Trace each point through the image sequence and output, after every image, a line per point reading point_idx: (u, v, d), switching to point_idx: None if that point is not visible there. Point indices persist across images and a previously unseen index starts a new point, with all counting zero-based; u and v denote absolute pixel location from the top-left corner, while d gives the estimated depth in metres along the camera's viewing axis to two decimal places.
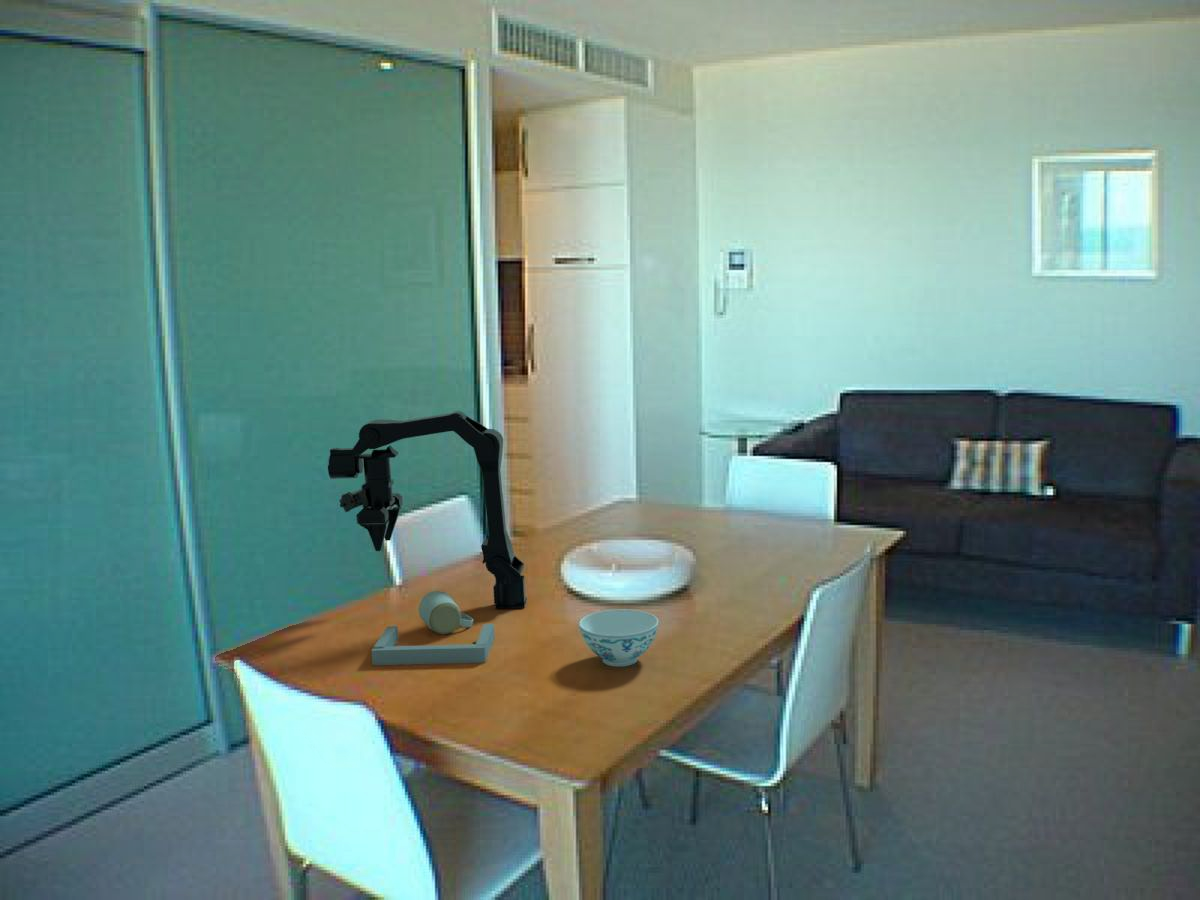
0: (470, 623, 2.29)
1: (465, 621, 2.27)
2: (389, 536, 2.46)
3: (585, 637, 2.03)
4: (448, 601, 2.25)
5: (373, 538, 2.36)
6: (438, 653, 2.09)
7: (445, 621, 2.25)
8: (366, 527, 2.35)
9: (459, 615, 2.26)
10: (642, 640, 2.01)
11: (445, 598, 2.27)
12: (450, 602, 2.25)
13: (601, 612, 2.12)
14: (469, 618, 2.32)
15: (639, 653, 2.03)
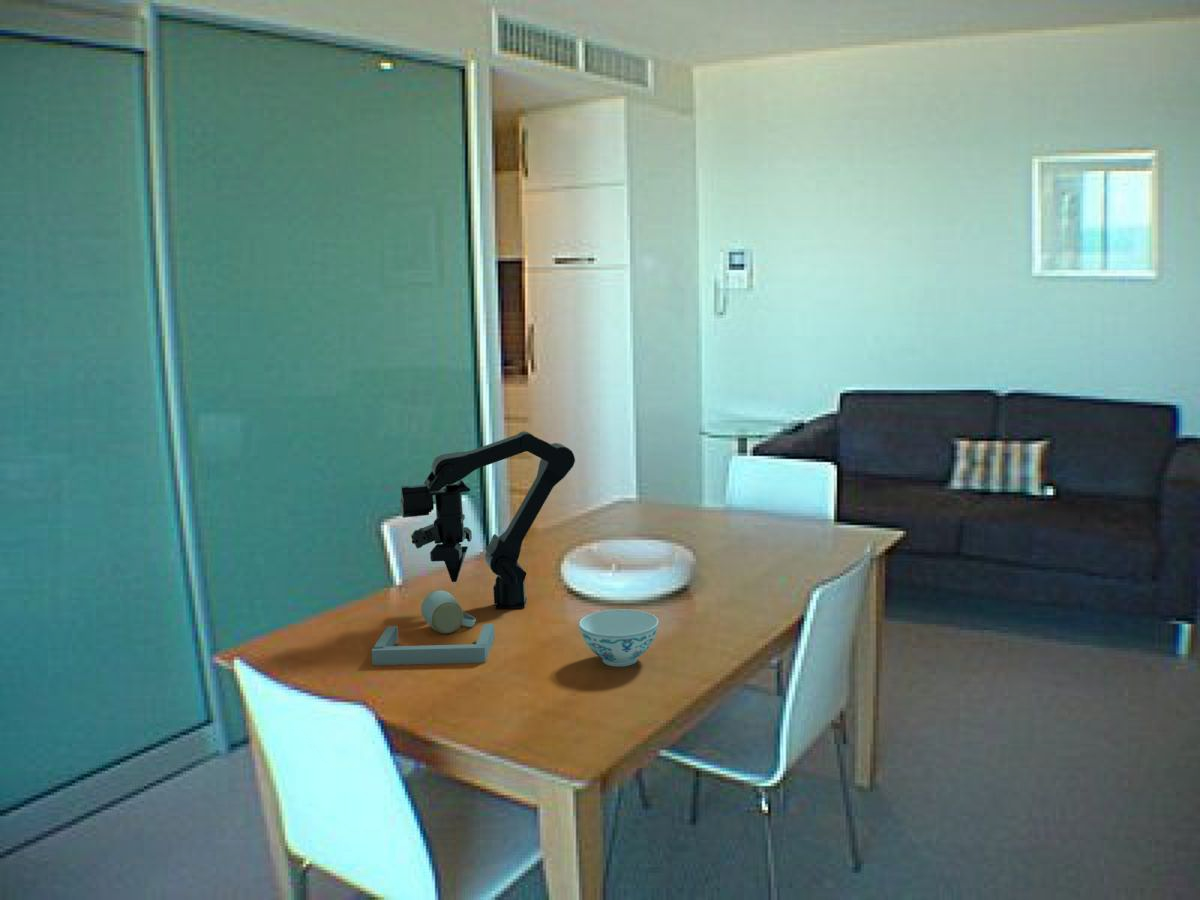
0: (472, 623, 2.29)
1: (467, 621, 2.28)
2: None
3: (585, 637, 2.03)
4: (450, 601, 2.26)
5: (449, 569, 2.37)
6: (438, 653, 2.09)
7: (447, 620, 2.25)
8: None
9: (461, 615, 2.26)
10: (642, 640, 2.01)
11: (447, 598, 2.27)
12: (452, 602, 2.25)
13: (601, 612, 2.12)
14: (471, 618, 2.32)
15: (639, 653, 2.03)
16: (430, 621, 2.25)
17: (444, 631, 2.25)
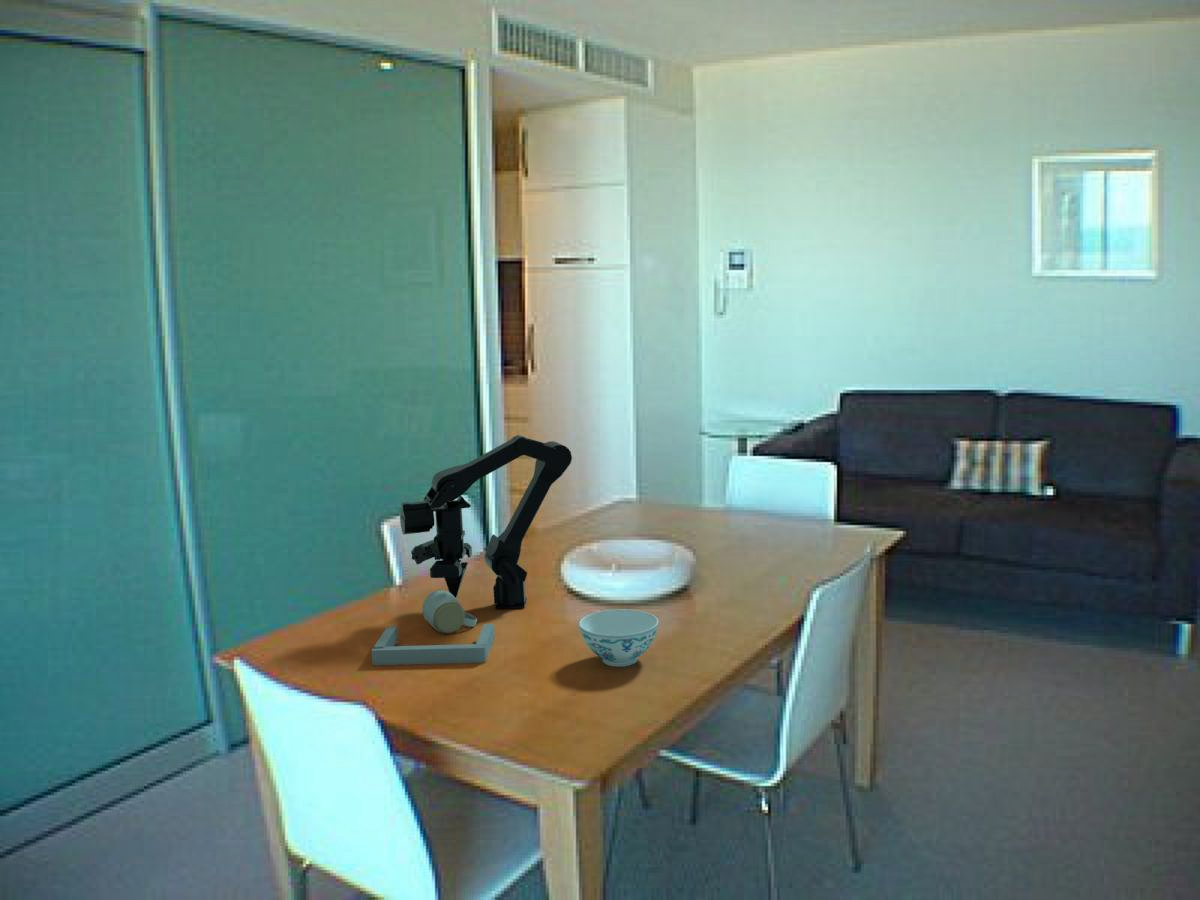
0: (474, 622, 2.29)
1: (469, 620, 2.28)
2: None
3: (585, 637, 2.03)
4: (452, 600, 2.26)
5: (449, 585, 2.37)
6: (438, 653, 2.09)
7: (448, 620, 2.25)
8: None
9: (463, 614, 2.26)
10: (642, 640, 2.01)
11: (449, 597, 2.27)
12: (454, 601, 2.26)
13: (601, 612, 2.12)
14: (473, 617, 2.32)
15: (639, 653, 2.03)
16: (431, 621, 2.25)
17: (445, 631, 2.25)
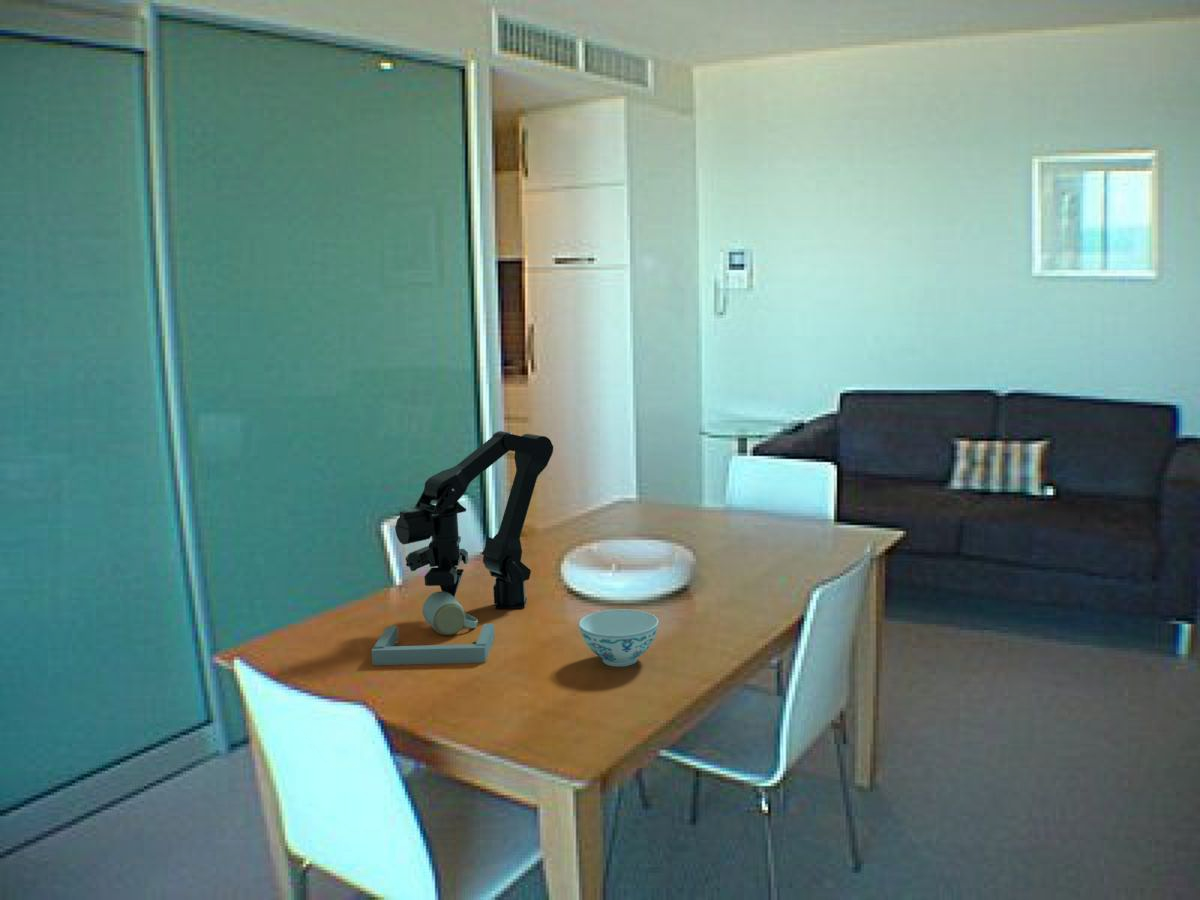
0: (474, 624, 2.28)
1: (469, 622, 2.26)
2: None
3: (585, 637, 2.03)
4: (452, 602, 2.24)
5: None
6: (438, 653, 2.09)
7: (449, 621, 2.24)
8: None
9: (463, 616, 2.25)
10: (642, 640, 2.01)
11: (449, 599, 2.26)
12: (454, 603, 2.24)
13: (601, 612, 2.12)
14: (473, 619, 2.31)
15: (639, 653, 2.03)
16: (432, 622, 2.23)
17: (446, 632, 2.24)
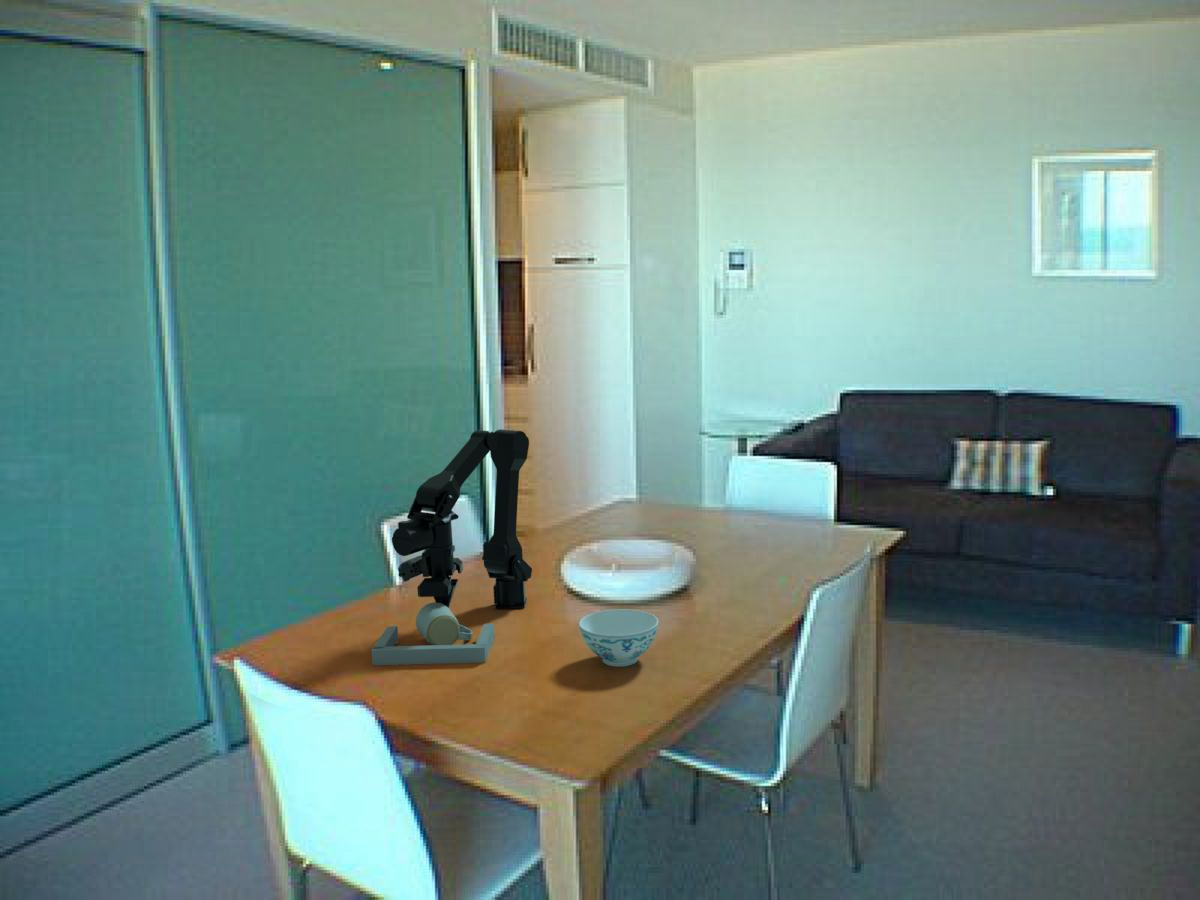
0: (469, 636, 2.20)
1: (464, 634, 2.19)
2: None
3: (585, 637, 2.03)
4: (446, 613, 2.17)
5: None
6: (438, 653, 2.09)
7: (443, 634, 2.16)
8: None
9: (458, 628, 2.17)
10: (642, 640, 2.01)
11: (443, 610, 2.18)
12: (448, 614, 2.17)
13: (601, 612, 2.12)
14: (468, 631, 2.23)
15: (639, 653, 2.03)
16: (425, 635, 2.16)
17: None
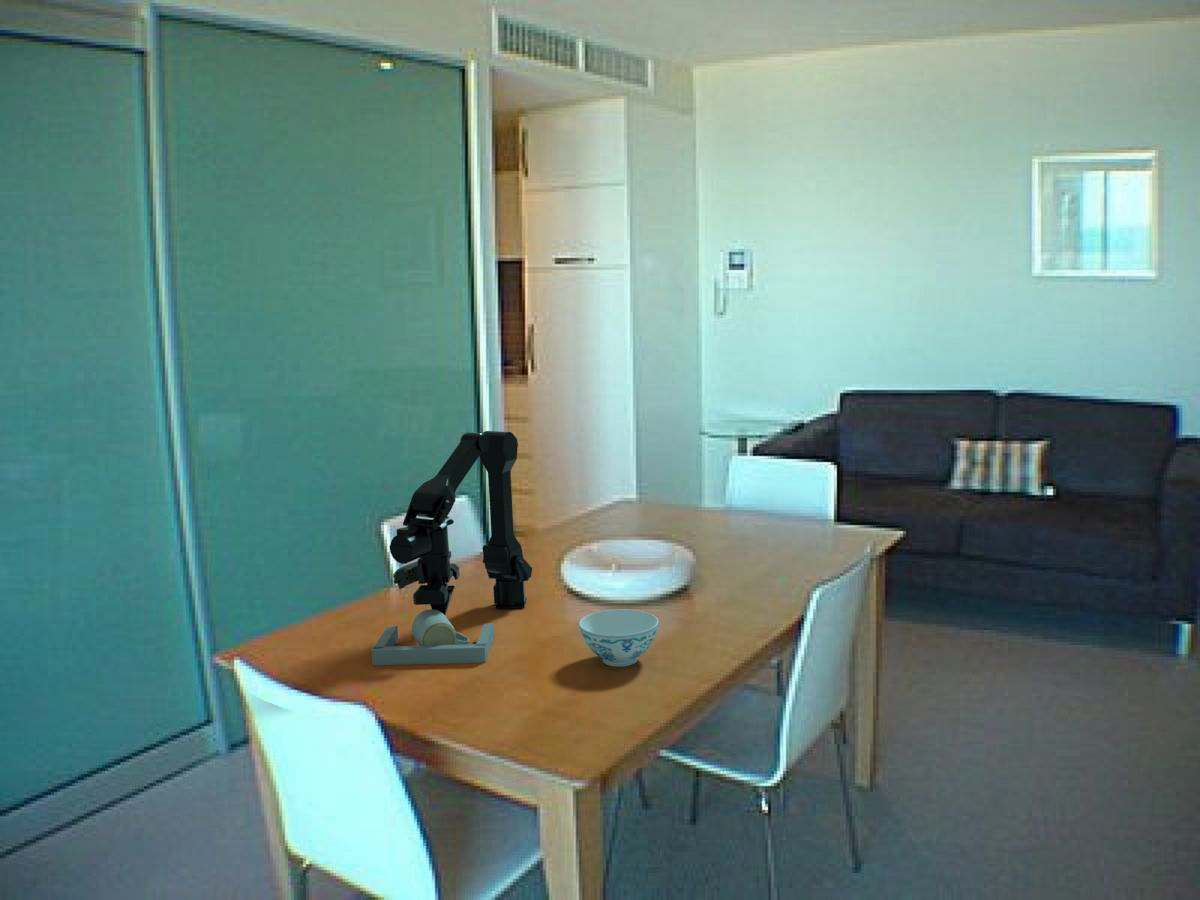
0: (466, 644, 2.16)
1: (460, 642, 2.15)
2: None
3: (585, 637, 2.03)
4: (442, 621, 2.13)
5: None
6: (438, 653, 2.09)
7: (439, 642, 2.12)
8: None
9: (454, 636, 2.13)
10: (642, 640, 2.01)
11: (439, 617, 2.14)
12: (444, 622, 2.12)
13: (601, 612, 2.12)
14: (465, 638, 2.19)
15: (639, 653, 2.03)
16: (421, 642, 2.12)
17: None
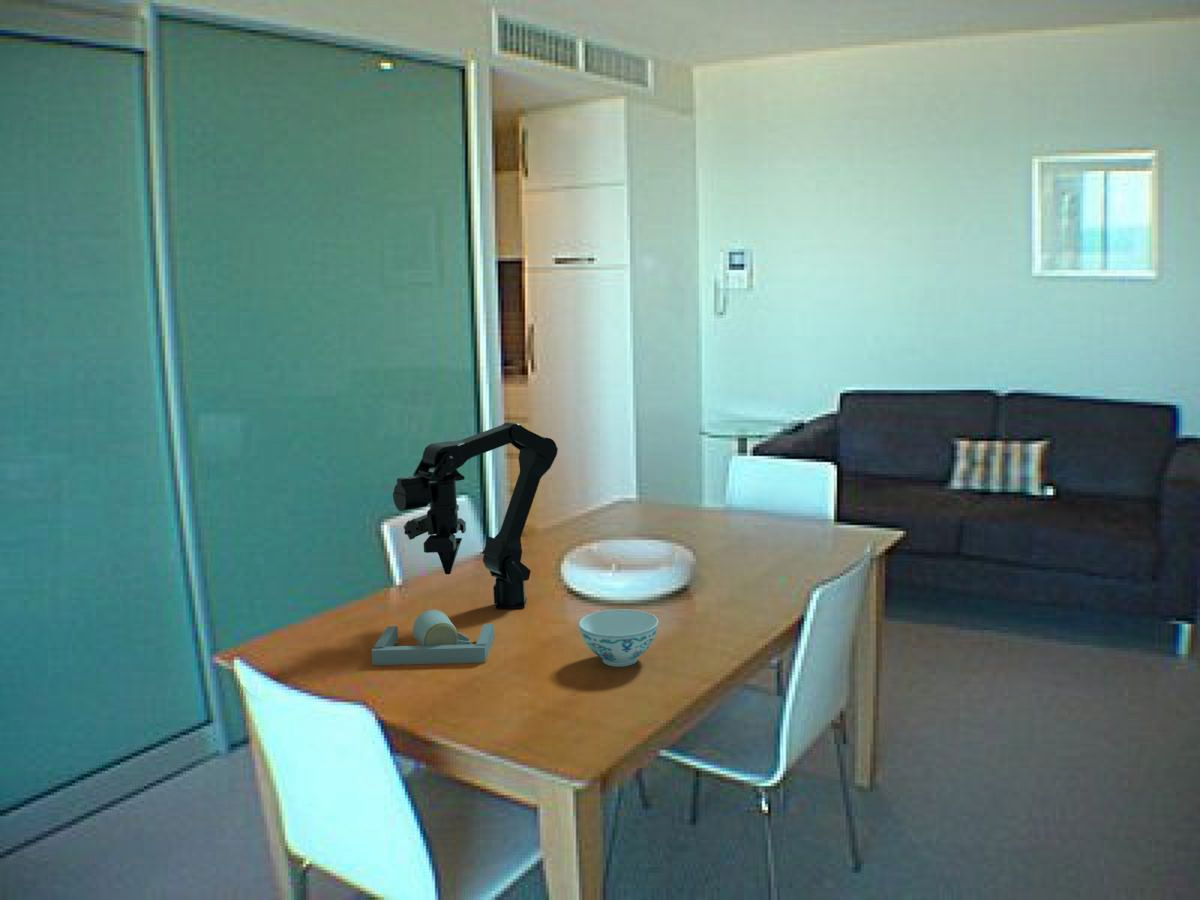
0: None
1: (462, 642, 2.15)
2: None
3: (585, 637, 2.03)
4: (444, 621, 2.13)
5: (443, 561, 2.31)
6: (438, 653, 2.09)
7: (440, 642, 2.12)
8: None
9: (456, 636, 2.13)
10: (642, 640, 2.01)
11: (441, 618, 2.14)
12: (446, 622, 2.13)
13: (601, 612, 2.12)
14: (467, 638, 2.19)
15: (639, 653, 2.03)
16: (422, 643, 2.12)
17: None
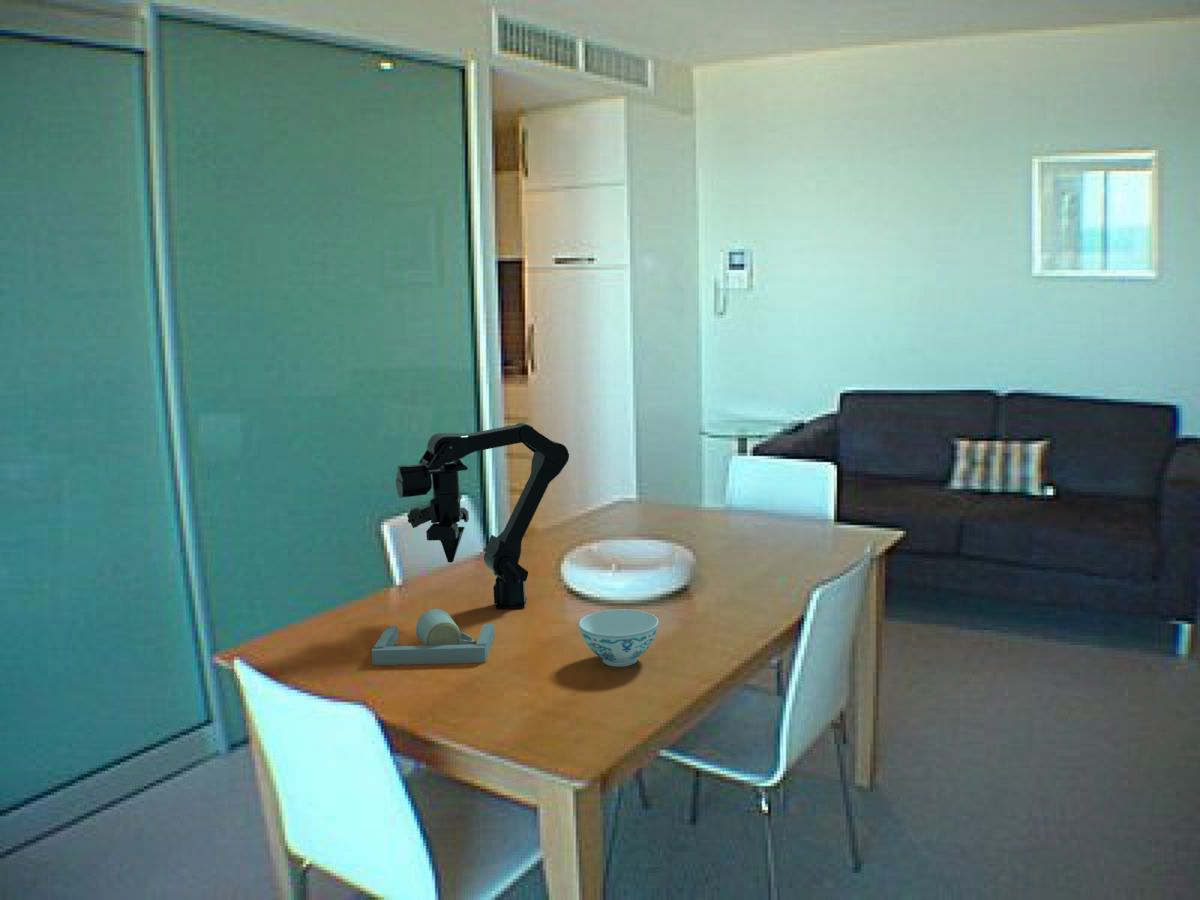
0: None
1: (465, 642, 2.15)
2: None
3: (585, 637, 2.03)
4: (447, 621, 2.13)
5: (446, 549, 2.34)
6: (438, 653, 2.09)
7: (443, 641, 2.12)
8: None
9: (458, 635, 2.13)
10: (642, 640, 2.01)
11: (444, 617, 2.14)
12: (449, 622, 2.13)
13: (601, 612, 2.12)
14: (469, 638, 2.19)
15: (639, 653, 2.03)
16: (425, 642, 2.12)
17: None
